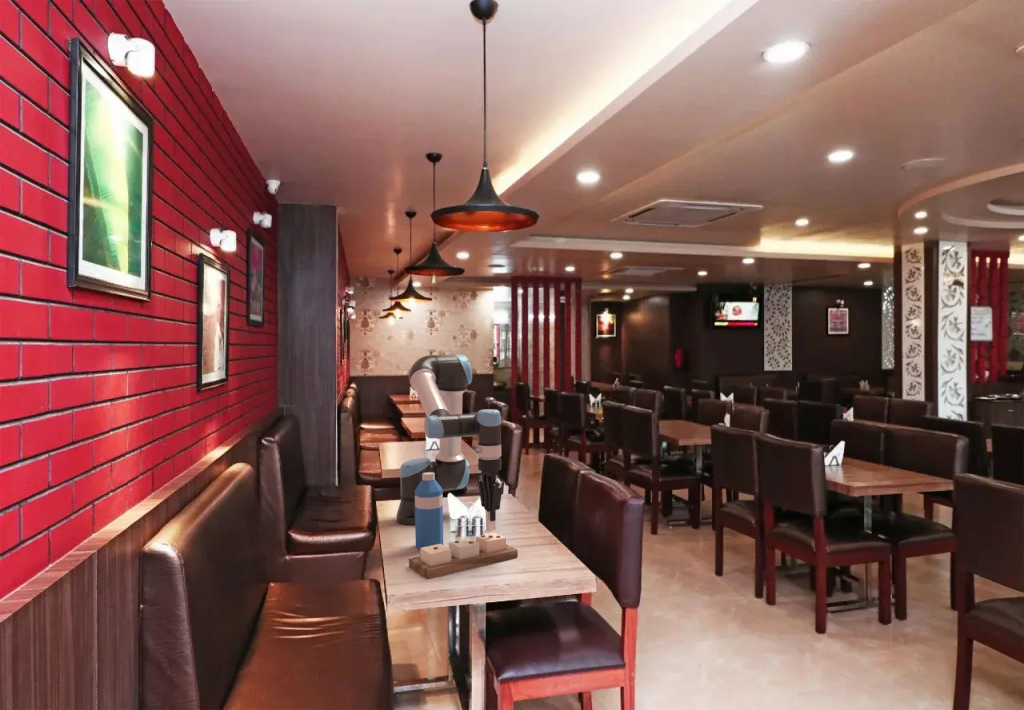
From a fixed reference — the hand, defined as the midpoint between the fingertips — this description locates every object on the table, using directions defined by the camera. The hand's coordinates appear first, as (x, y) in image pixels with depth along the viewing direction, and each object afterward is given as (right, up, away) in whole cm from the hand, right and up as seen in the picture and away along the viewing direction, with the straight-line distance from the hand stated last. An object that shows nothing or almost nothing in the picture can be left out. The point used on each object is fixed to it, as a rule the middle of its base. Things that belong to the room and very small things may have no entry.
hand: (490, 530), depth 212 cm
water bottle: (-21, -9, +10) cm, 25 cm away
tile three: (0, -6, 0) cm, 6 cm away
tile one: (-17, -7, -11) cm, 21 cm away
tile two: (-8, -7, -5) cm, 12 cm away
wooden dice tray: (-8, -9, -5) cm, 13 cm away
